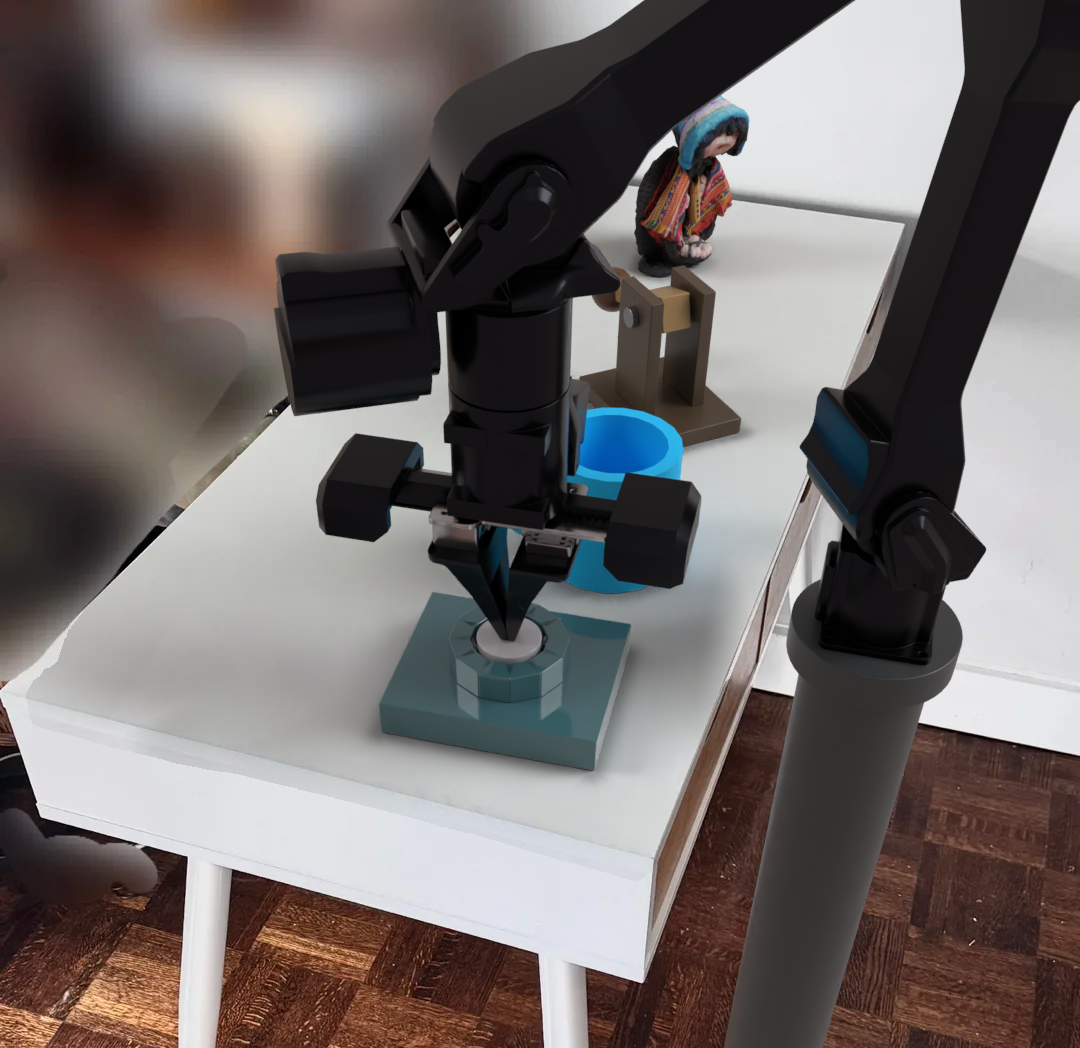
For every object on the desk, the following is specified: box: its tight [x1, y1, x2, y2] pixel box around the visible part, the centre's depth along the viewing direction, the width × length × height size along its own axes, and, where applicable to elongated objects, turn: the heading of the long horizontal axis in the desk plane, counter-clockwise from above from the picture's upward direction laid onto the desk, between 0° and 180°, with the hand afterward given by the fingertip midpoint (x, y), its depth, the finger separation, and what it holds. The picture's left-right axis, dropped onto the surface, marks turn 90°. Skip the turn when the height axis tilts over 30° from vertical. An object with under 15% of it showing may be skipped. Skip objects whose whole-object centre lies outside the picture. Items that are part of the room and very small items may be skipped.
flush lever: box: [591, 266, 691, 335], centre depth 95 cm, size 11×3×3 cm, turn 25°
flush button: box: [476, 618, 542, 664], centre depth 74 cm, size 4×4×2 cm
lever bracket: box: [578, 265, 742, 448], centre depth 94 cm, size 10×8×10 cm
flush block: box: [378, 591, 632, 772], centre depth 74 cm, size 12×10×4 cm
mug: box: [510, 408, 684, 594], centre depth 83 cm, size 12×8×8 cm
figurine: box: [633, 95, 750, 278], centre depth 110 cm, size 10×7×15 cm
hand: (509, 635), depth 73 cm, fingers closed, pressing on flush button
